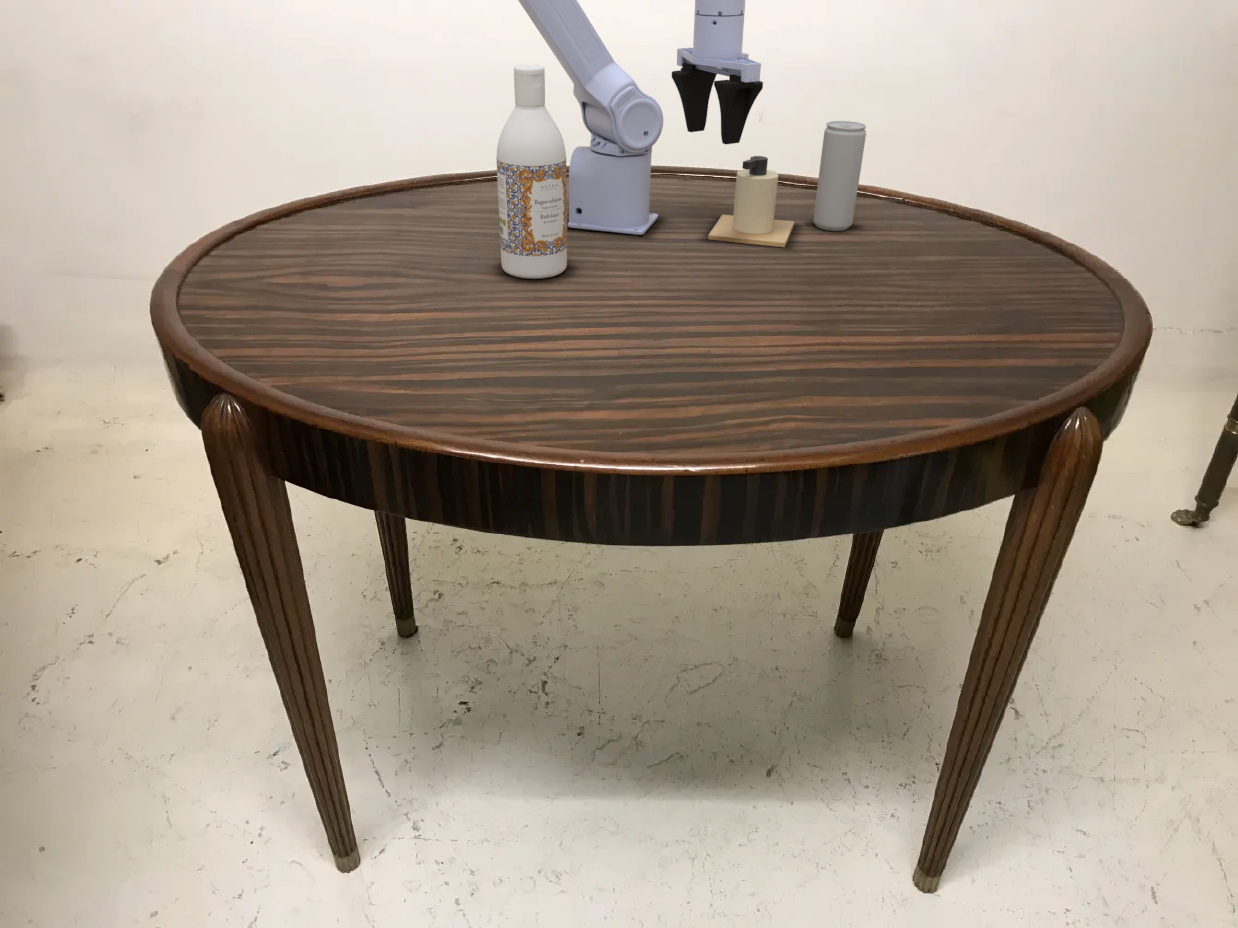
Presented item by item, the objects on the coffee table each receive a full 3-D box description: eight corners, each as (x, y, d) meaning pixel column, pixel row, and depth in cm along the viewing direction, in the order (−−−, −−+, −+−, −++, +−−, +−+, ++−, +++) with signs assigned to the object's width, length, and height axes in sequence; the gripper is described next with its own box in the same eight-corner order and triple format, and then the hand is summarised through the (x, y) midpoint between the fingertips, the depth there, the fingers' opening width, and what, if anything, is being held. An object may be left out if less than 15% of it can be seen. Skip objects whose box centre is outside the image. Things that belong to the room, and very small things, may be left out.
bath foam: (521, 285, 95) (513, 74, 84) (490, 265, 100) (479, 64, 89) (579, 273, 98) (579, 69, 88) (546, 255, 103) (542, 60, 93)
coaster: (707, 239, 109) (708, 234, 109) (721, 219, 116) (722, 214, 116) (784, 247, 107) (785, 242, 107) (794, 226, 114) (794, 221, 114)
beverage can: (849, 221, 117) (864, 121, 110) (854, 233, 112) (869, 129, 106) (810, 220, 117) (823, 120, 111) (813, 231, 113) (827, 128, 107)
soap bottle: (746, 220, 114) (752, 151, 110) (780, 227, 112) (787, 157, 108) (722, 229, 111) (727, 158, 106) (757, 237, 108) (764, 165, 104)
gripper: (786, 18, 103) (775, 145, 110) (712, 7, 114) (707, 123, 121) (734, 21, 100) (726, 151, 107) (663, 9, 111) (660, 128, 118)
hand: (712, 137), depth 114 cm, fingers open, 7 cm apart
